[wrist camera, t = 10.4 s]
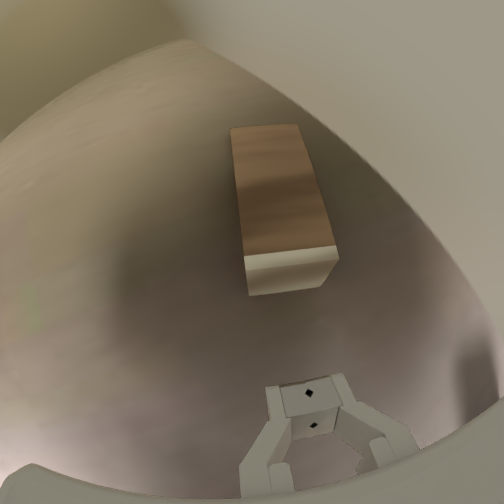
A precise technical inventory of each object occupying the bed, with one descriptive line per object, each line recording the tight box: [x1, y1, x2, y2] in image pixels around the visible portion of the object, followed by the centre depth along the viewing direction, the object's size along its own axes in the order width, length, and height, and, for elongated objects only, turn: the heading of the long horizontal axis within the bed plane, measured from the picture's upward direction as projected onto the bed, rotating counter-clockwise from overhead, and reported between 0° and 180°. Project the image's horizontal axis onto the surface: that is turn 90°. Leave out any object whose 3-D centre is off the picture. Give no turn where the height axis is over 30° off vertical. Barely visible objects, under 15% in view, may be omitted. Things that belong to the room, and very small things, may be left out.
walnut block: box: [230, 123, 339, 296], centre depth 19 cm, size 5×5×11 cm
